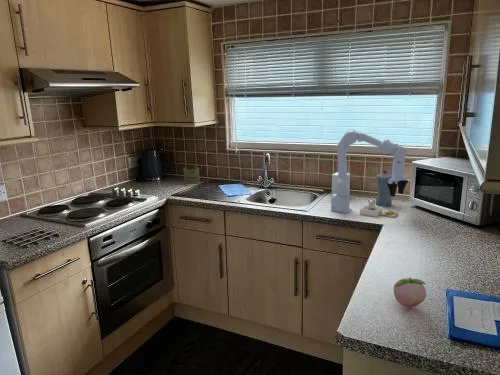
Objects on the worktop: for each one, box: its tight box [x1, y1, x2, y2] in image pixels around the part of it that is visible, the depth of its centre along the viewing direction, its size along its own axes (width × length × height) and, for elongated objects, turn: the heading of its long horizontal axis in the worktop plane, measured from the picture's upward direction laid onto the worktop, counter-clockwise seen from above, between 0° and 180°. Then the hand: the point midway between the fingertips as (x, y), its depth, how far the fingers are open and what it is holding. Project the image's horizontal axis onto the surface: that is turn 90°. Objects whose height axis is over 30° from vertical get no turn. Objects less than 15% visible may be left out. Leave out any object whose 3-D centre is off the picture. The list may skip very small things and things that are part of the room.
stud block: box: [379, 210, 399, 219], centre depth 203 cm, size 7×7×2 cm
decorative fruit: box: [393, 276, 427, 309], centre depth 117 cm, size 9×8×10 cm
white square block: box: [331, 171, 351, 196], centre depth 238 cm, size 9×9×15 cm
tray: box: [359, 204, 384, 218], centre depth 207 cm, size 9×9×3 cm
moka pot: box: [375, 170, 393, 208], centre depth 220 cm, size 10×15×20 cm, turn 158°
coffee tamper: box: [367, 199, 376, 211], centre depth 206 cm, size 4×4×6 cm
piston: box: [183, 166, 201, 185], centre depth 286 cm, size 11×12×11 cm
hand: (396, 194), depth 203 cm, fingers open, 7 cm apart
